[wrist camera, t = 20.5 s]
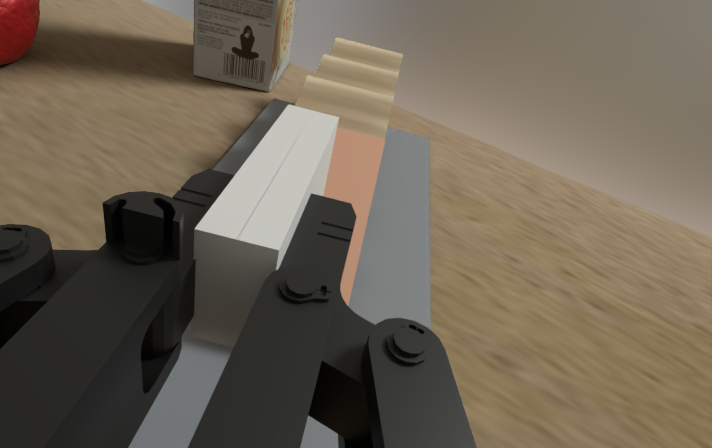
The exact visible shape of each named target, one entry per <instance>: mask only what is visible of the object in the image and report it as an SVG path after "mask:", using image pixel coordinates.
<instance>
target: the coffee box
mask: <svg viewBox="0 0 712 448" xmlns="http://www.w3.org/2000/svg"><path fill="white" fill-rule="evenodd" d="M297 1H298V0H194V34H193V35H194V46H193V74H194V75H195V76H198V77H202V78H207V79H211V80H216V81H220V82H225V83H229V84H234V85H239V86H243V87H248V88H252V89H256V90H261V91H266V92H270V90H271V89H272V88H273V86H274V85H275V83H276V82H277V80H278V78H279V77H280V76H281V74H282V73H283V71H284V69H285V68H286V66H287V65H288V63H289V62H290V54H291V47H292V39H293V31H294V24H295V16H296V8H297Z"/></svg>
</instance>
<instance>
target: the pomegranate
mask: <svg viewBox="0 0 712 448" xmlns="http://www.w3.org/2000/svg"><path fill="white" fill-rule="evenodd" d="M39 16H40V10H39V0H0V66H1V65H5V64H8V63H11V62H13V61H16V60H18V59H19V58H20V57H21V56H22V55H23V54H24V53H25V52H26V51H27V50H28V49H29V48H30V47H31V45H32V44H33V42H34V39H35V37H36V33H37V29H38V23H39Z"/></svg>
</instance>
